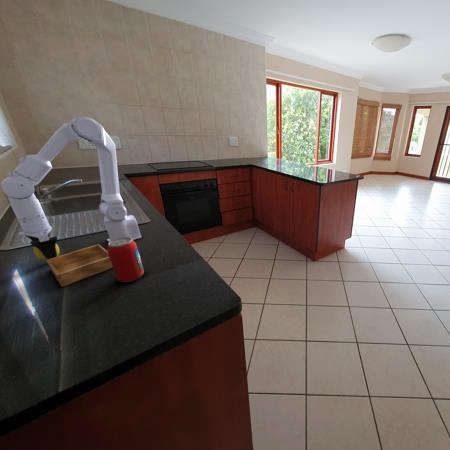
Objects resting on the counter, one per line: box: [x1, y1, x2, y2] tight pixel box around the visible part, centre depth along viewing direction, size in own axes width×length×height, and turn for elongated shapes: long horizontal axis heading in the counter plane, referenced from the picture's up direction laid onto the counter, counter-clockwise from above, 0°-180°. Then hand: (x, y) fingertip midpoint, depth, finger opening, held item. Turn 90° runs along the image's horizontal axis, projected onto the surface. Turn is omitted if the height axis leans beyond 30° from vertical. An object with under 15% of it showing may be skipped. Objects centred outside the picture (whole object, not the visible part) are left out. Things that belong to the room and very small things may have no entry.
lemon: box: [33, 243, 60, 261], centre depth 77 cm, size 6×6×8 cm
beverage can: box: [106, 237, 145, 283], centre depth 68 cm, size 7×7×12 cm
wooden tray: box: [45, 243, 113, 287], centre depth 74 cm, size 13×13×4 cm
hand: (49, 254), depth 78 cm, fingers open, 7 cm apart
